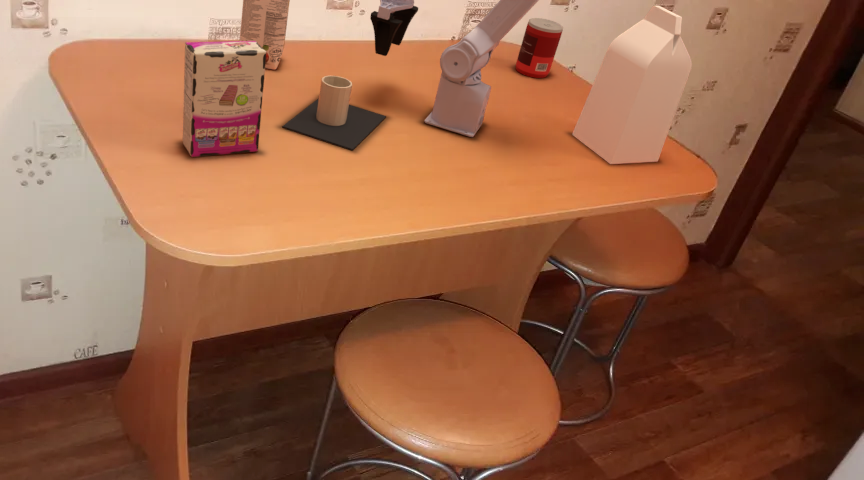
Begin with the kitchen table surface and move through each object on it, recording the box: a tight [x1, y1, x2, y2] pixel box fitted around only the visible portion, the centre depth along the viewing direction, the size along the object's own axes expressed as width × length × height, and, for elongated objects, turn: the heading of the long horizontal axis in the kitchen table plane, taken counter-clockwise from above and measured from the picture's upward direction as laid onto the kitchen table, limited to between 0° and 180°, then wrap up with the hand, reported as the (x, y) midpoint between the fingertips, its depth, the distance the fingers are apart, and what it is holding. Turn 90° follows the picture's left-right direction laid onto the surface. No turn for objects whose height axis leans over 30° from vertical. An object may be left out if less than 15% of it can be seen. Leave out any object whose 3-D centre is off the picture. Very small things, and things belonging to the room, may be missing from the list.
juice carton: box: [239, 0, 291, 70], centre depth 151 cm, size 8×9×19 cm
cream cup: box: [316, 74, 353, 126], centre depth 137 cm, size 5×5×7 cm
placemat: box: [281, 97, 387, 151], centre depth 139 cm, size 13×17×1 cm
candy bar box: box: [182, 40, 266, 158], centre depth 120 cm, size 11×5×16 cm, turn 117°
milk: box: [571, 5, 693, 165], centre depth 144 cm, size 12×12×26 cm
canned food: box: [515, 17, 564, 79], centre depth 176 cm, size 8×8×11 cm
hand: (387, 48), depth 147 cm, fingers open, 7 cm apart
